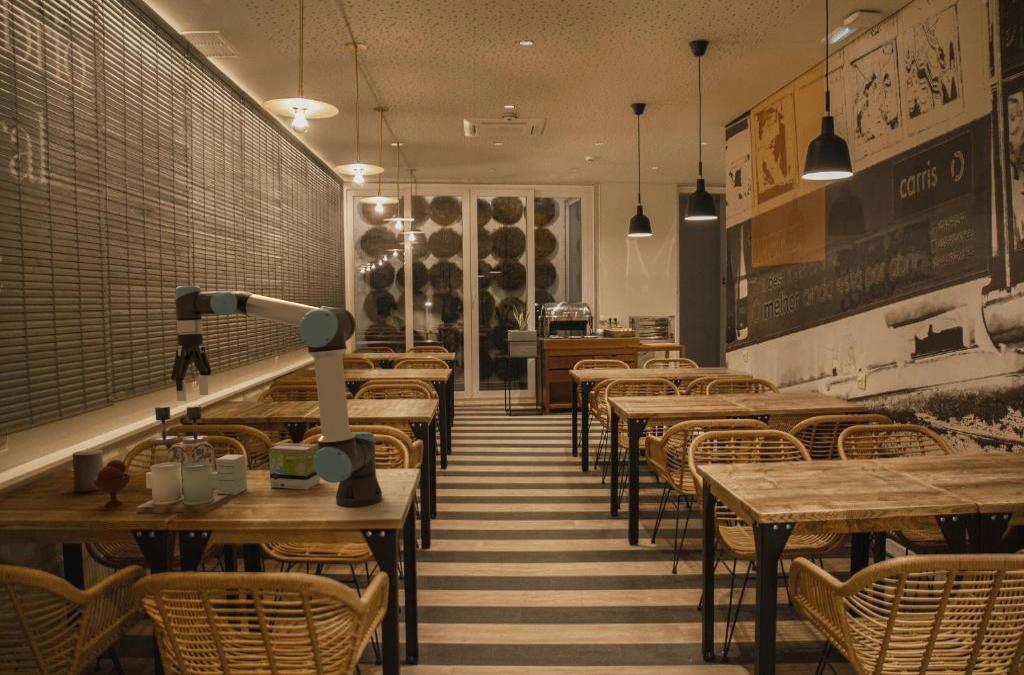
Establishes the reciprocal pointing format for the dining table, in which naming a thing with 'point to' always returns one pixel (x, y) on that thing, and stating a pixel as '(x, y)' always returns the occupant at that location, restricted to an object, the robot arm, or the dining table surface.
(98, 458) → the pillar candle
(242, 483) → the supplement box
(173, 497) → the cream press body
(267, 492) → the dining table surface
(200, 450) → the decorative jar
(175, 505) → the walnut board
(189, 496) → the sage press body
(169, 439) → the cream press plunger
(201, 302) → the robot arm
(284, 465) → the tea box
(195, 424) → the sage plunger
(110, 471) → the ice cream bowl
